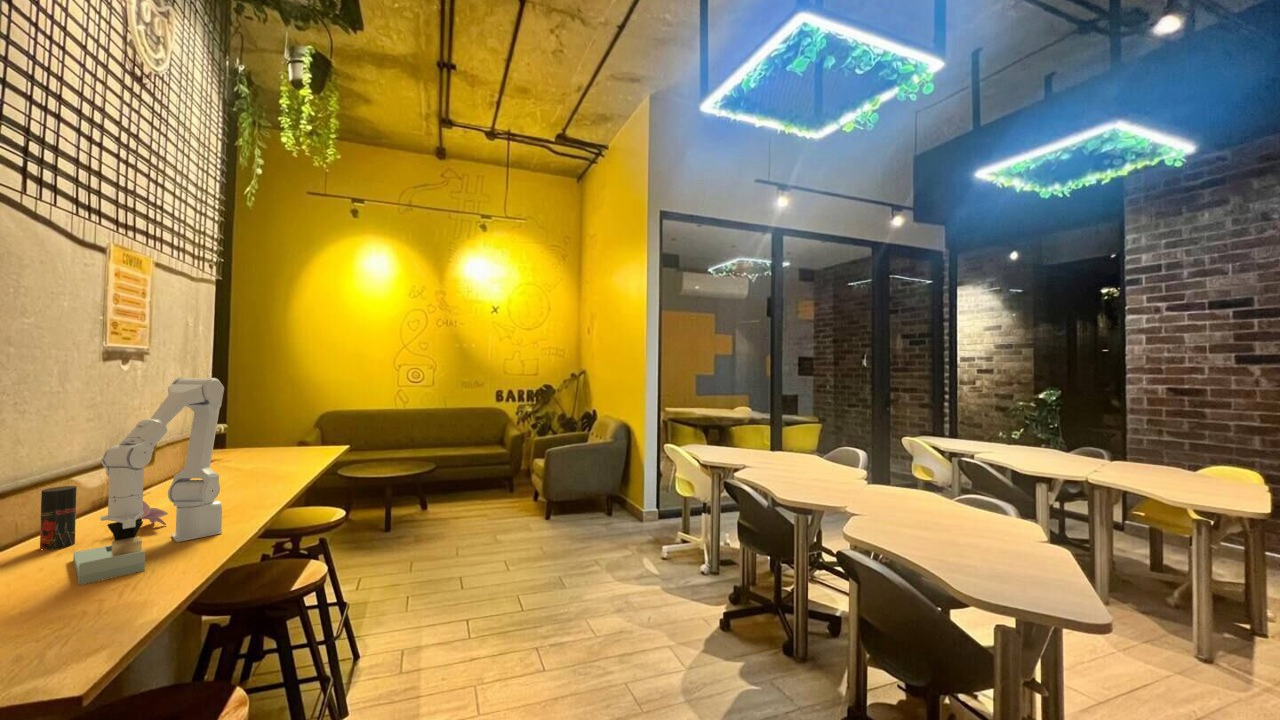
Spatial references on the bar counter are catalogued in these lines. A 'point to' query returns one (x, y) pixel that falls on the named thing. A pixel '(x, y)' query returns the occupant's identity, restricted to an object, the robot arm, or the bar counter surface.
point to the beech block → (126, 546)
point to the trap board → (106, 564)
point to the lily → (152, 514)
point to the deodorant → (58, 517)
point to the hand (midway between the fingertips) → (124, 552)
